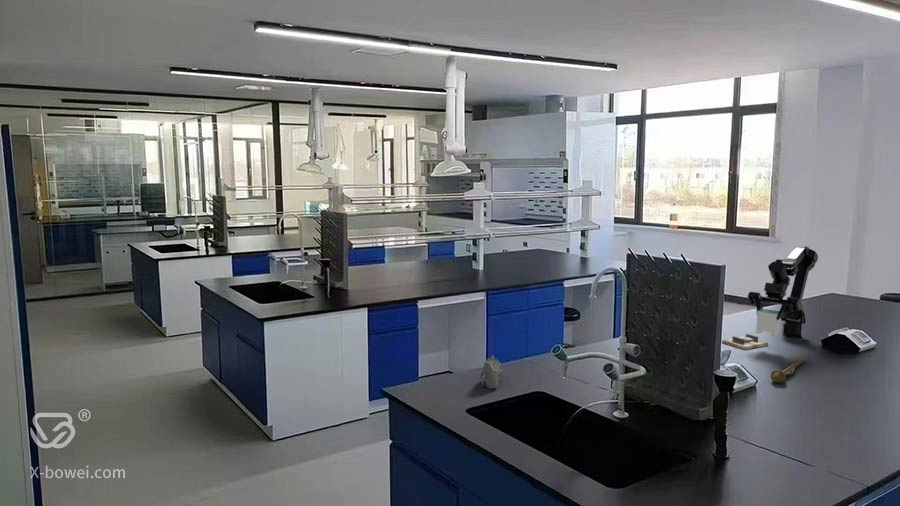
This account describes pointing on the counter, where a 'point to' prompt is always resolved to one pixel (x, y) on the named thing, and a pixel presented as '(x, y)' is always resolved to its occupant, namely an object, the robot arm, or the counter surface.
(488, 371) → the mineral rock
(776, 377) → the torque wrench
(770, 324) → the panel
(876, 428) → the counter surface
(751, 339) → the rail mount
